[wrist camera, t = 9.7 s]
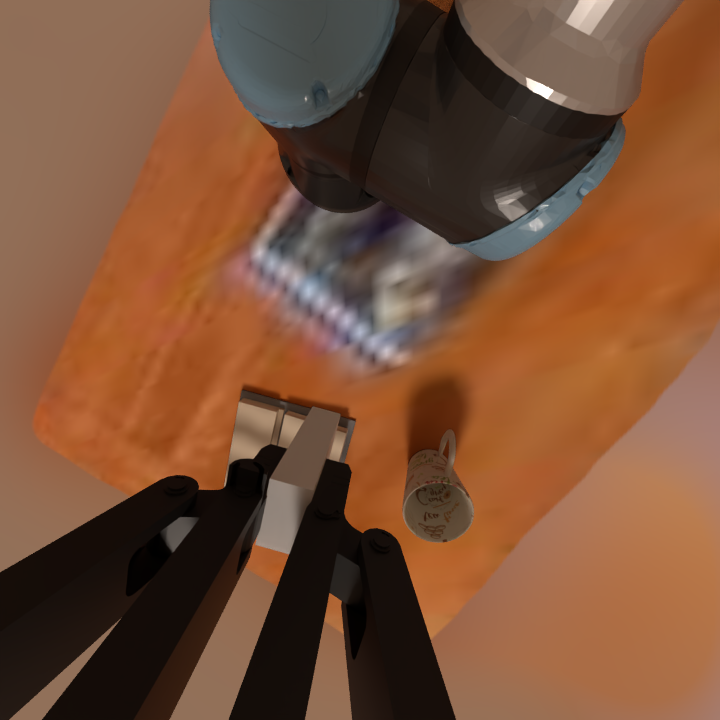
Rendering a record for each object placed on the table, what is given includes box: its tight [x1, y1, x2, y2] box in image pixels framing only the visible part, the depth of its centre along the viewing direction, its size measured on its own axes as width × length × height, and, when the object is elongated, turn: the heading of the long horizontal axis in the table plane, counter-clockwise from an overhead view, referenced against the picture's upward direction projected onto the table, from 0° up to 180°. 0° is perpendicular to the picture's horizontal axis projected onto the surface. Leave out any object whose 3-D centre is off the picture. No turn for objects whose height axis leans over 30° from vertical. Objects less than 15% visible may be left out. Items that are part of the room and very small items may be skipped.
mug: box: [403, 429, 474, 542], centre depth 45 cm, size 8×13×10 cm, turn 169°
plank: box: [278, 411, 348, 462], centre depth 49 cm, size 10×9×2 cm
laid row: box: [224, 390, 356, 487], centre depth 51 cm, size 22×17×2 cm
